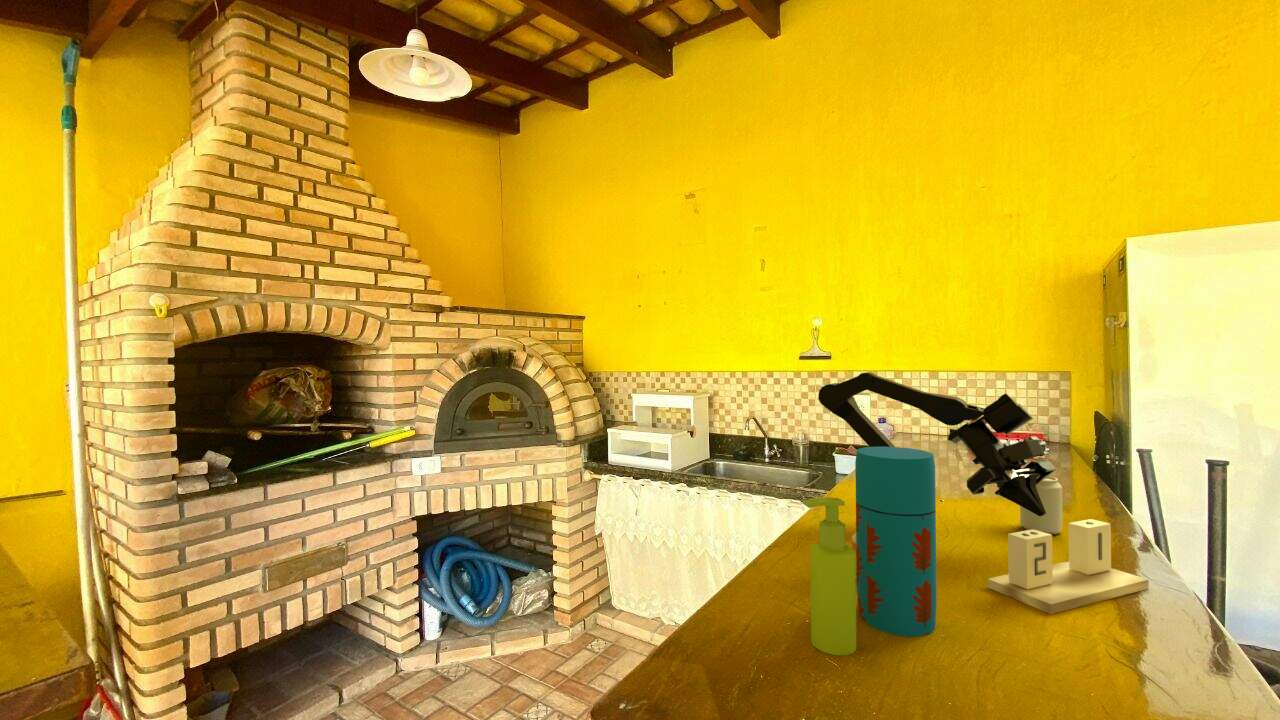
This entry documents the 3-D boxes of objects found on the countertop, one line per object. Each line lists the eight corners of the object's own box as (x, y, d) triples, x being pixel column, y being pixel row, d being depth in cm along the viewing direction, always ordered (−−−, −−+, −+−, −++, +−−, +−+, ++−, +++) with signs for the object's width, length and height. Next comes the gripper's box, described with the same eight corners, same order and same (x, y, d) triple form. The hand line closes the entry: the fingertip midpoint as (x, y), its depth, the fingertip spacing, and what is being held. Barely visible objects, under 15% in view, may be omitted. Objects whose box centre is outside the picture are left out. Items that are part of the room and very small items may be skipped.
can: (1047, 525, 122) (1047, 472, 121) (1070, 536, 114) (1070, 480, 114) (1012, 524, 122) (1012, 472, 122) (1033, 535, 115) (1033, 480, 115)
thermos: (929, 607, 83) (928, 448, 83) (944, 642, 73) (942, 461, 73) (855, 598, 87) (853, 445, 87) (859, 630, 77) (857, 457, 76)
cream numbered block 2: (1008, 581, 88) (1008, 533, 88) (1033, 576, 90) (1033, 528, 90) (1028, 589, 85) (1027, 539, 85) (1053, 583, 87) (1053, 534, 87)
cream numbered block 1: (1069, 568, 93) (1068, 522, 93) (1091, 563, 95) (1090, 518, 95) (1089, 575, 90) (1089, 527, 90) (1112, 570, 92) (1112, 523, 92)
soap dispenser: (797, 634, 76) (795, 494, 76) (844, 631, 76) (842, 492, 76) (814, 657, 70) (812, 505, 70) (864, 654, 70) (863, 503, 70)
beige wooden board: (987, 587, 90) (987, 578, 90) (1081, 566, 98) (1081, 558, 98) (1050, 614, 80) (1050, 604, 80) (1148, 588, 89) (1148, 579, 89)
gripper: (979, 426, 102) (1041, 497, 91) (1045, 420, 108) (1109, 486, 98) (943, 460, 109) (997, 529, 99) (1007, 452, 116) (1063, 517, 105)
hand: (1043, 515), depth 100 cm, fingers closed
